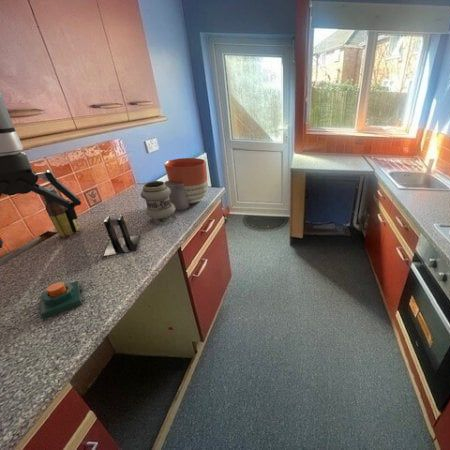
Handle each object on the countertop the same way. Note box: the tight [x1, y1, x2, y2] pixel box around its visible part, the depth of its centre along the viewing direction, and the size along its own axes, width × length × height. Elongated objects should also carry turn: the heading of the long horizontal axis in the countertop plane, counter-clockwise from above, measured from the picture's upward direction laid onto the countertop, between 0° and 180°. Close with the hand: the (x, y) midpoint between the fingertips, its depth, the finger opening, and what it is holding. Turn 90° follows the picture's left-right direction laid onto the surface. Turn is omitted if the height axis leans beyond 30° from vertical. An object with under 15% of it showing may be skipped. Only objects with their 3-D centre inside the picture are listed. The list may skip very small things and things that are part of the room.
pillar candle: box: [164, 180, 191, 212], centre depth 125 cm, size 10×10×15 cm
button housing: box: [39, 280, 83, 320], centre depth 70 cm, size 10×8×4 cm
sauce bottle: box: [42, 187, 80, 239], centre depth 96 cm, size 6×6×20 cm
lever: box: [110, 217, 130, 227], centre depth 95 cm, size 14×4×4 cm, turn 24°
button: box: [45, 281, 67, 297], centre depth 68 cm, size 4×4×2 cm
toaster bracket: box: [103, 214, 141, 257], centre depth 92 cm, size 12×10×13 cm
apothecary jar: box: [140, 180, 176, 223], centre depth 111 cm, size 12×12×18 cm
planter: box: [163, 157, 209, 204], centre depth 131 cm, size 20×20×21 cm
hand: (39, 237), depth 63 cm, fingers open, 13 cm apart
